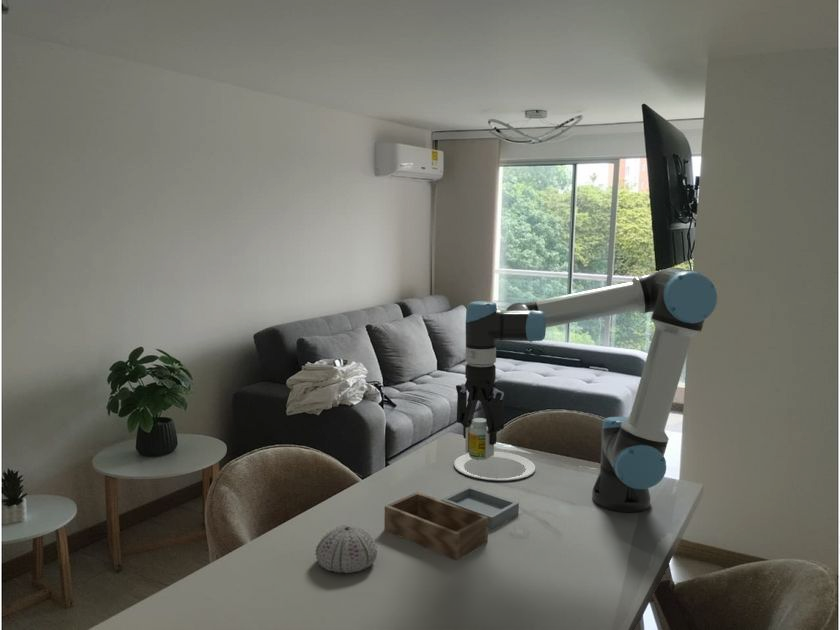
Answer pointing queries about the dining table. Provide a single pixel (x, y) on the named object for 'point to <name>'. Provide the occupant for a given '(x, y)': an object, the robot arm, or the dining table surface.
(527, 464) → the white flat ring
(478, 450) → the supplement bottle
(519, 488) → the dining table surface
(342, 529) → the sea urchin shell
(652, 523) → the dining table surface
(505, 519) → the slate tray
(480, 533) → the walnut box
